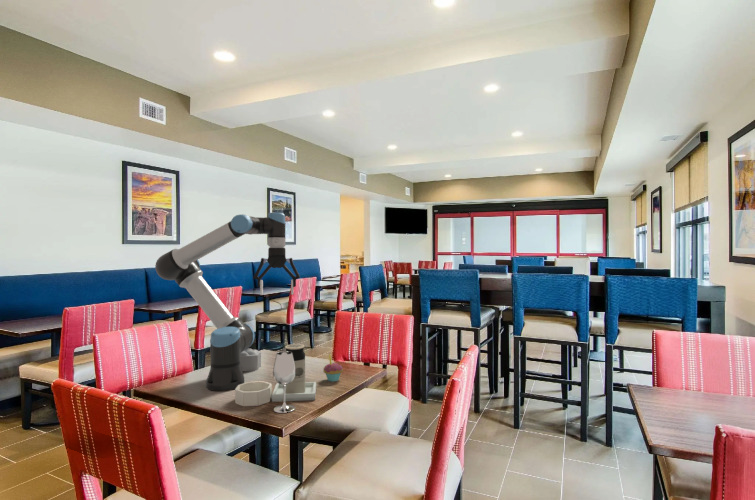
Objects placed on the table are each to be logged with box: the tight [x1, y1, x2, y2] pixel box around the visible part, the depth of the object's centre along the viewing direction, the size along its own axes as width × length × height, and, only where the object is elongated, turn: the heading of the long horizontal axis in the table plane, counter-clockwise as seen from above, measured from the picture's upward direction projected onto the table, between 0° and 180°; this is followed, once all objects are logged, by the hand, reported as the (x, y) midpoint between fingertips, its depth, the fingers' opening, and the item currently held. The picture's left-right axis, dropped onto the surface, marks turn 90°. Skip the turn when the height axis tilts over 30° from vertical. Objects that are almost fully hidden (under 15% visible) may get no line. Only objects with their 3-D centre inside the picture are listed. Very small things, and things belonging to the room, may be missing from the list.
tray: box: [271, 381, 317, 403], centre depth 163 cm, size 16×14×2 cm
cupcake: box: [323, 353, 344, 382], centre depth 181 cm, size 9×8×12 cm
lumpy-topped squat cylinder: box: [240, 347, 262, 372], centre depth 200 cm, size 10×13×9 cm
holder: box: [234, 380, 273, 407], centre depth 157 cm, size 13×13×5 cm
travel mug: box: [284, 343, 306, 394], centre depth 163 cm, size 8×8×18 cm
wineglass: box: [272, 350, 296, 414], centre depth 148 cm, size 8×8×20 cm
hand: (277, 294), depth 187 cm, fingers open, 13 cm apart
